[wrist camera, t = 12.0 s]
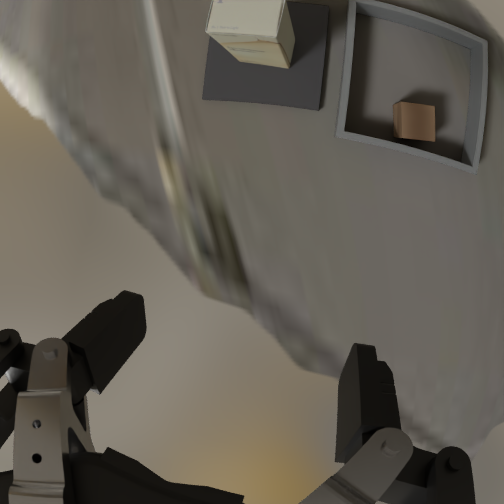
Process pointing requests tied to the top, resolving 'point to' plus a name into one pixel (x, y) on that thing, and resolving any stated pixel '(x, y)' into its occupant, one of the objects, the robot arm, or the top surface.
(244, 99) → the place mat
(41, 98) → the top surface
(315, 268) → the top surface
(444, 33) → the parts bin
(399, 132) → the walnut block
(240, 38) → the skincare box
